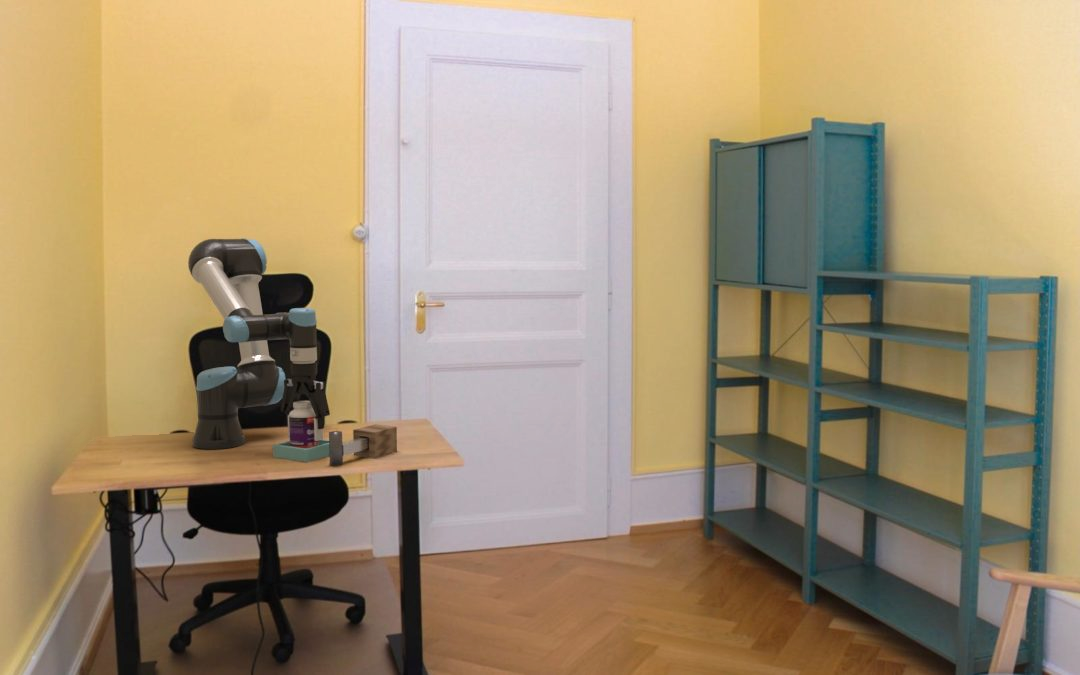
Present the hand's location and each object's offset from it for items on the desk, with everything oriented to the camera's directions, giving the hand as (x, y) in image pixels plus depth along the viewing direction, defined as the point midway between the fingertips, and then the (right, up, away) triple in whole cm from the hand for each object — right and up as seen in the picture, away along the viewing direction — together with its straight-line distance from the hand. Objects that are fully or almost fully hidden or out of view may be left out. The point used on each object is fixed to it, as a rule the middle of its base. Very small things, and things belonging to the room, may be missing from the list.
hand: (305, 438), depth 279 cm
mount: (+20, -5, +3) cm, 21 cm away
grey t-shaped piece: (+15, -5, -6) cm, 17 cm away
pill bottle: (0, -4, +1) cm, 4 cm away
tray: (0, -5, 0) cm, 5 cm away
